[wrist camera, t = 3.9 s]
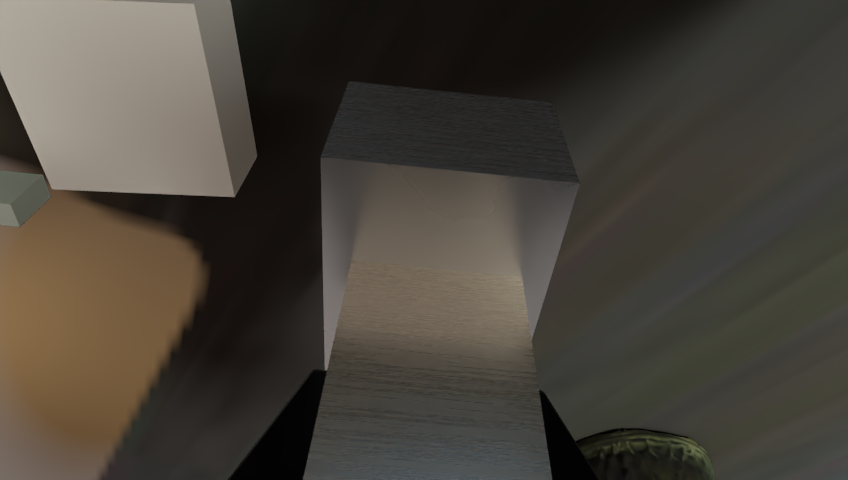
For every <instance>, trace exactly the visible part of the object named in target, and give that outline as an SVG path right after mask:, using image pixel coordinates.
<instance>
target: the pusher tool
mask: <svg viewBox="0 0 848 480" xmlns="http://www.w3.org/2000/svg"><path fill="white" fill-rule="evenodd" d="M579 184H580V182H579V179H578V176H577V173H576V171H575V168H574V165H573V162H572V159H571V156H570V153H569V150H568V147H567V144H566V141H565V138H564V135H563V132H562V129H561V127H560V124H559V121H558V118H557V115H556V112H555V109H554V106H553V103H552V102H543V101H533V100H524V99H514V98H505V97H495V96H486V95H476V94H467V93H457V92H448V91H438V90H429V89H419V88H410V87H400V86H391V85H381V84H372V83H362V82H352V81H349V82H348V85H347V88H346V90H345V93H344V96H343V98H342V101H341V104H340V106H339V109H338V112H337V114H336V117H335V120H334V122H333V125H332V128H331V130H330V133H329V136H328V138H327V141H326V144H325V146H324V149H323V152H322V154H321V202H322V251H323V299H324V348H325V370H327V373H326V378H325V382H324V387H323V391H322V396H321V400H320V405H319V409H318V414H317V418H316V423H315V427H314V432H313V437H312V441H311V446H310V450H309V455H308V459H307V464H306V468H305V473H304V477H303V480H552V475H551V468H550V461H549V455H548V448H547V441H546V435H545V428H544V421H543V415H542V408H541V401H540V394H539V388H538V381H537V374H536V368H535V361H534V354H533V348H532V341H531V340H532V337H533V334H534V331H535V327H536V324H537V321H538V318H539V314H540V311H541V308H542V305H543V301H544V298H545V295H546V292H547V288H548V285H549V282H550V279H551V275H552V272H553V269H554V266H555V262H556V259H557V256H558V253H559V249H560V246H561V243H562V240H563V236H564V233H565V230H566V227H567V223H568V220H569V217H570V214H571V210H572V207H573V204H574V201H575V197H576V194H577V191H578V188H579Z"/></svg>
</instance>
